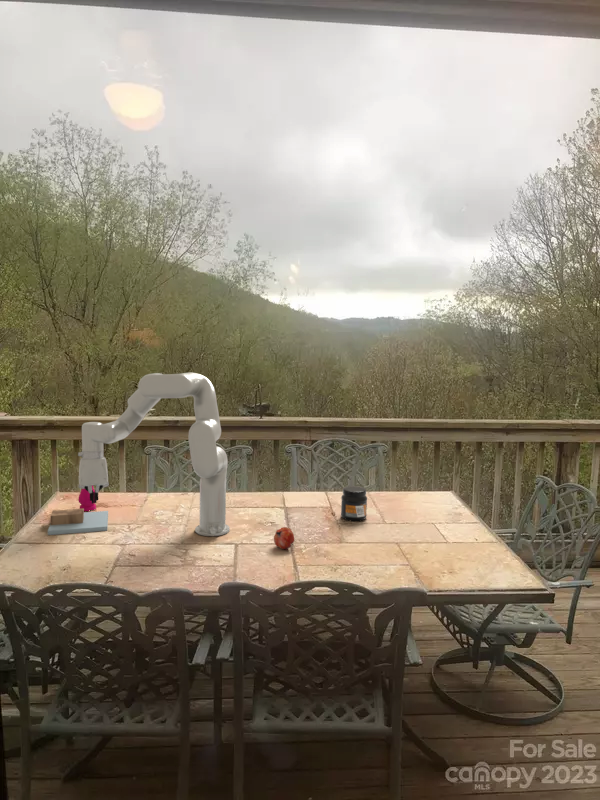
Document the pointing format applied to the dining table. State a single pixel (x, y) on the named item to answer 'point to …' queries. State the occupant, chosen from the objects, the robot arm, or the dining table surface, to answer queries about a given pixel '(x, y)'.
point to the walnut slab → (67, 516)
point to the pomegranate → (284, 538)
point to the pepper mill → (86, 500)
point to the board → (83, 524)
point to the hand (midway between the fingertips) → (94, 502)
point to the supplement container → (354, 503)
